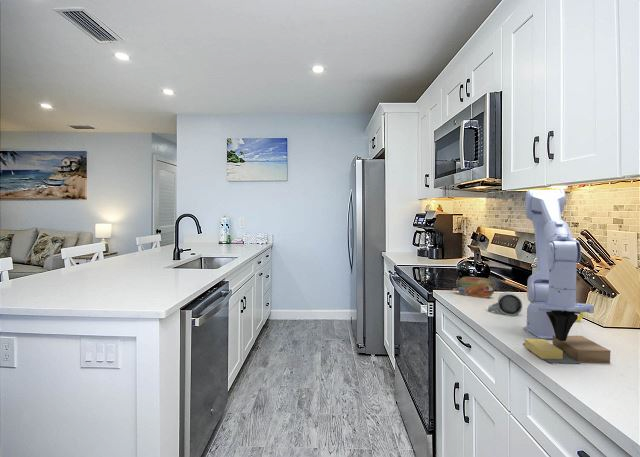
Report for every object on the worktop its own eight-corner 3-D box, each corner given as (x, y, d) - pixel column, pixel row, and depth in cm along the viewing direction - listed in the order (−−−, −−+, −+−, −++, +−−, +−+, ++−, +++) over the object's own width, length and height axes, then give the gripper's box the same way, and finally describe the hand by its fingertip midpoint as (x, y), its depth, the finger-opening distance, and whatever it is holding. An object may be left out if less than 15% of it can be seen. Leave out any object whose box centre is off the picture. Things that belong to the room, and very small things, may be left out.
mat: (522, 344, 95) (522, 343, 95) (550, 344, 94) (550, 343, 94) (548, 363, 83) (548, 362, 83) (580, 364, 82) (580, 362, 82)
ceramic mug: (520, 310, 127) (520, 290, 126) (522, 317, 119) (522, 295, 119) (488, 308, 131) (488, 288, 131) (488, 313, 124) (488, 292, 124)
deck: (552, 346, 93) (552, 335, 93) (581, 346, 93) (581, 335, 93) (577, 362, 83) (577, 350, 83) (610, 362, 83) (610, 350, 83)
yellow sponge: (544, 339, 93) (543, 346, 93) (524, 338, 93) (524, 346, 93) (562, 351, 85) (562, 359, 85) (541, 350, 85) (541, 358, 85)
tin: (456, 294, 152) (456, 275, 152) (458, 293, 155) (458, 274, 154) (494, 299, 144) (494, 279, 143) (495, 297, 146) (495, 278, 146)
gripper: (541, 290, 84) (540, 345, 85) (603, 291, 83) (602, 346, 84) (526, 284, 91) (525, 334, 92) (583, 284, 90) (582, 335, 91)
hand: (560, 339), depth 88 cm, fingers closed
